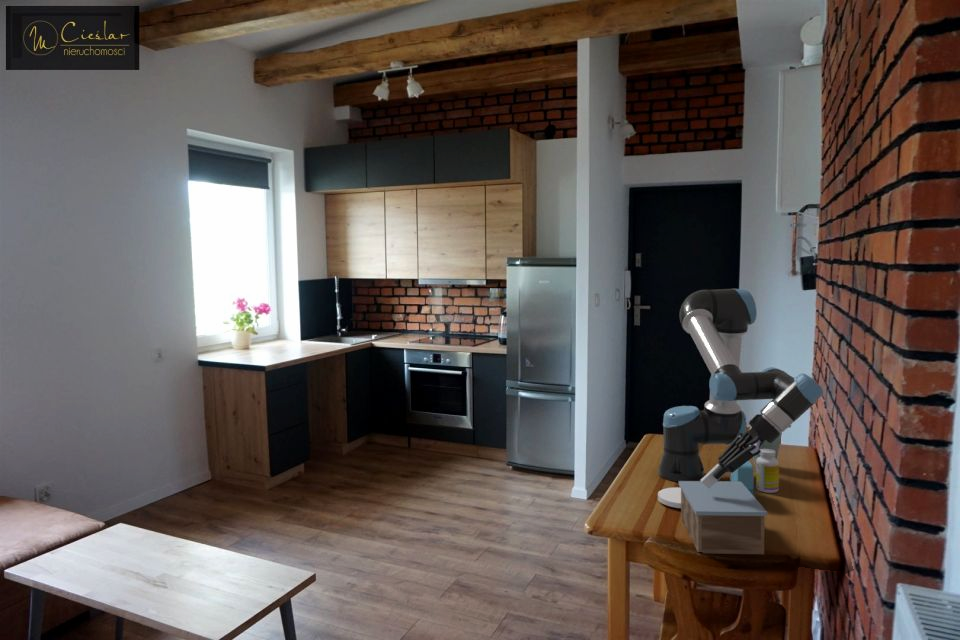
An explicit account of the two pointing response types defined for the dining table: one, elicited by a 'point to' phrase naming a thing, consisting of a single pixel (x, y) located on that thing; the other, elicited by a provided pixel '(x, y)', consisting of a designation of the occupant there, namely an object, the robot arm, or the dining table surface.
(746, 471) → the data package
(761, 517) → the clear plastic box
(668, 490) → the plastic lid
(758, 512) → the lid
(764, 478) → the supplement bottle
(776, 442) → the disposable coffee cup
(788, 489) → the dining table surface
